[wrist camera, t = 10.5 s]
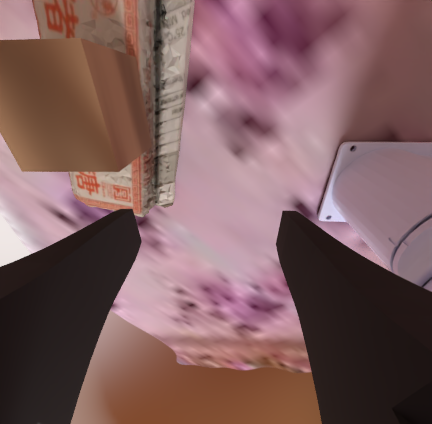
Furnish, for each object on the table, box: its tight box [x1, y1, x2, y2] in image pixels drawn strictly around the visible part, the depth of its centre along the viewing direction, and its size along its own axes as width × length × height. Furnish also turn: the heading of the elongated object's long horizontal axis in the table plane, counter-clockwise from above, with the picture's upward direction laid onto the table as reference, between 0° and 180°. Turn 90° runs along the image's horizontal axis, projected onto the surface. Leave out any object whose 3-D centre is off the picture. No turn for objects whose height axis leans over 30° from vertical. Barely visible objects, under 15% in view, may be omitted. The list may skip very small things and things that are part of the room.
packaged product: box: [32, 0, 195, 217], centre depth 15 cm, size 18×5×10 cm
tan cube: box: [0, 38, 152, 172], centre depth 11 cm, size 5×5×5 cm
